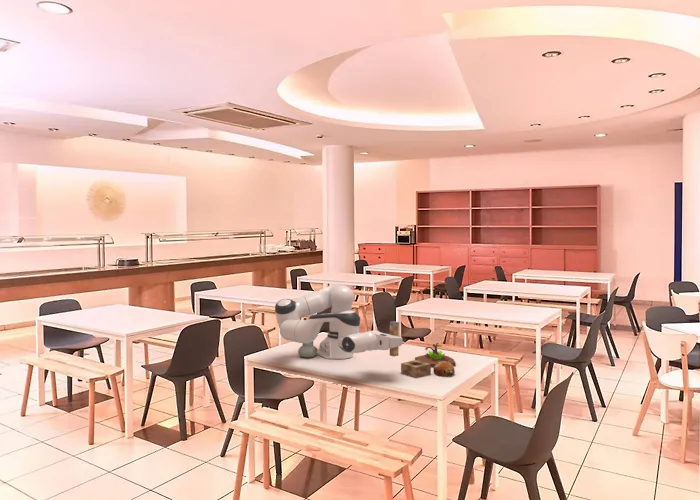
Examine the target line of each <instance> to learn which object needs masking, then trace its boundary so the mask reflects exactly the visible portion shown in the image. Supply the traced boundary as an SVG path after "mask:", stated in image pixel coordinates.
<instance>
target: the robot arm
mask: <svg viewBox="0 0 700 500" xmlns="http://www.w3.org/2000/svg"><path fill="white" fill-rule="evenodd" d="M354 301H355V293H354V291H353V290H352V289H351V288H350V287H348V286H346V285H343V284H339V283H333V284H331V285H329V286H326V287H322V288H321V289H319V290H317V291H314V292H311V293H308V294H304V295H301V296H299V297H296V298H294V299H290V298H283V299H280V300H278V301H277V302H276V304H274V305H275V306H274V312H275V316H276V317H275V318H276V323H277V325H278V328H279V334H280V336H281V337H282V338H283V339H284V340H286V341H290V342H294V343H299V344H302V343H311V342H312V341H313V342H314V341H315V340H316V339H317V337H318V336H319V334H320V332H321V329H322V326H323V325H324V323H329V330H327V331H326V332H325V333H326V334H327V335H326V337H325V338H324V339H323V340H321V342H320V343H319V347H318V348H319V349H317V354H316V355H318V356H320V357H322V358H324V359H326V360H327V359H328V360H330V359H331V360H332V359H334V360H344V359H345V360H346V359H350V358H352V357H353V355H354V354H359V353H364V352H367V351H369V352H371V351H378V350H379V351H388V350H389V351H390V348H394V347H398V346H399V347H402V346H403V337H401V336H400V335H399V336H398V335H396V336H394V335H390V333H385V332H381V331H378V330H377V329H374V330H368V331H365V332H360V323H361V317H360V314H358V312H356V310H352V307H353V302H354ZM329 308H331V310H330V312H327V313H326V312H325V313H321V312H324V311H325V310H327V309H329ZM306 317H308V318H307V319H301V318H306Z"/></svg>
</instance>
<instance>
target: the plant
mask: <svg viewBox="0 0 700 500" xmlns="http://www.w3.org/2000/svg"><path fill="white" fill-rule="evenodd" d="M439 347H440V343H439V342H437V343H433V344H432V347H430V346H427V347H425V349H424V350H425V351H428V352H426V353H425V354H423V355H419V356H415V357H414V360H417V361H421V362H425V363H428V364H431V369H432V368H433V369H434V366H435V365H436V364H437V363H438V362H442V361H447V362H449V363H451V364H452V365H453V367H457V366H456V365H457V364H456V363H457V362H456V361H455V360H454V358H452V357H451V356H449V355H446V354H447V353H446V352H444V353H443V351H442V350H438V348H439ZM429 349H430V350H429Z"/></svg>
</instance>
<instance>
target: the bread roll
mask: <svg viewBox="0 0 700 500" xmlns="http://www.w3.org/2000/svg"><path fill="white" fill-rule="evenodd" d="M454 367H455V366H453V365H452V364H451V363H449V362H447V361H442V362H438V363H437V364H436V365H435V366H434V368H433V374H434V375H436V376H437V377H443V378H449V377H452V376H454V375H455V373H456V372H455V371H456V370H455V368H454Z"/></svg>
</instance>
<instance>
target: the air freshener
mask: <svg viewBox="0 0 700 500" xmlns="http://www.w3.org/2000/svg"><path fill="white" fill-rule="evenodd" d="M301 344H302V345H301V346H299V348H298V350H297V354H298V355H299V356H300V357H302V358H307V359H311V358H314V357H316V355H318V354H317V350H318V347H317V346H315V345H314V341H312V342H311V343H301Z"/></svg>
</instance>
